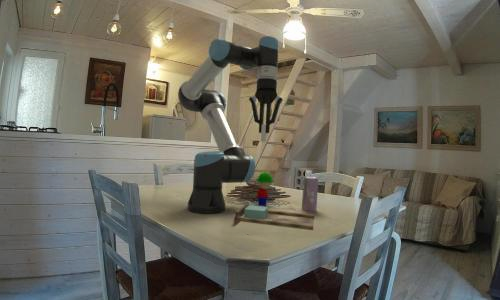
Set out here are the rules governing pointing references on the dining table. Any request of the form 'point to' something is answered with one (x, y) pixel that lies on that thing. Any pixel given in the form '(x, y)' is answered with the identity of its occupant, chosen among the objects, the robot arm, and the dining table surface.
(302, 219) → the brown flat frame
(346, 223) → the dining table surface
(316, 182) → the beverage can
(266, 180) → the toy
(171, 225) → the dining table surface
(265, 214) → the block
